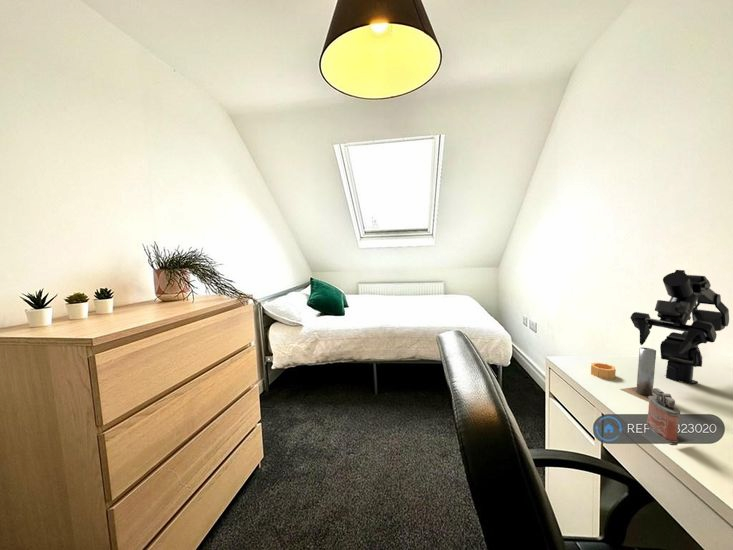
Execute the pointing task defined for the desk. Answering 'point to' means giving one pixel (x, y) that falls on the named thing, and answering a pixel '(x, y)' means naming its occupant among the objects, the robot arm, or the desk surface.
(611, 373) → the socket plate
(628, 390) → the board
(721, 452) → the desk surface
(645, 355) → the steel peg
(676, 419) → the lighter
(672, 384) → the desk surface
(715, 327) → the robot arm
